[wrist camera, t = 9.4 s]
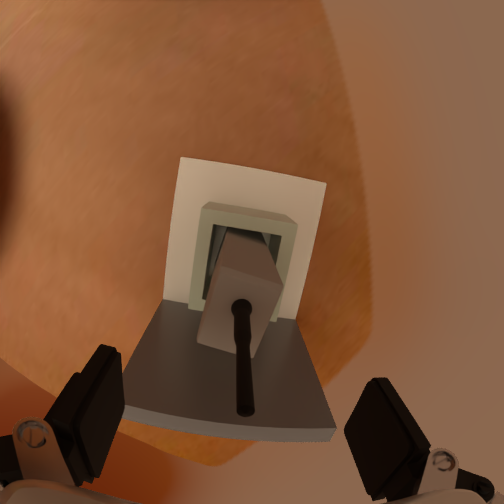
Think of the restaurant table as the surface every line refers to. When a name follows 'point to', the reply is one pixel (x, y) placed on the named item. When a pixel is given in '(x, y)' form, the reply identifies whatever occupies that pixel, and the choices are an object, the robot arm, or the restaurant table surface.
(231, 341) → the vintage mobile phone
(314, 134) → the restaurant table surface
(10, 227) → the restaurant table surface
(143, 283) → the restaurant table surface
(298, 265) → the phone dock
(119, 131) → the restaurant table surface
